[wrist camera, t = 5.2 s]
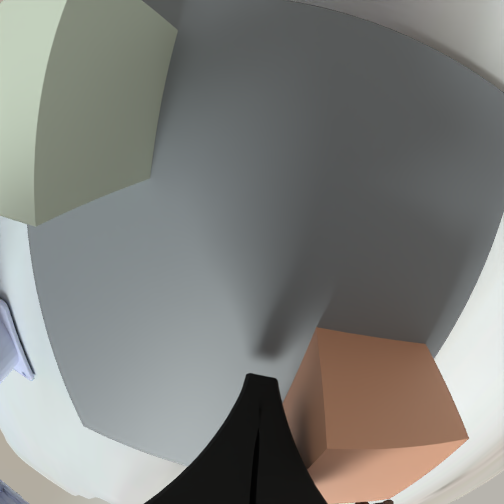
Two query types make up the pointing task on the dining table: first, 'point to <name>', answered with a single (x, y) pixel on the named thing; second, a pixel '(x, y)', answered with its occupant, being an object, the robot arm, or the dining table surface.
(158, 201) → the board
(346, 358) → the terracotta cube
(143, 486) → the dining table surface
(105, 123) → the sage cube
